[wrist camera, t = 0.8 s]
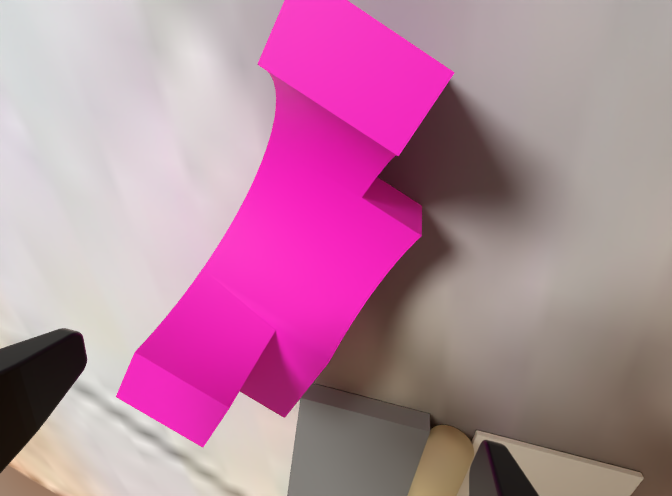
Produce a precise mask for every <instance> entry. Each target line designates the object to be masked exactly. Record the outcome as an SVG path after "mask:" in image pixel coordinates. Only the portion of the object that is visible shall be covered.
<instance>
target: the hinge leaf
mask: <svg viewBox="0 0 672 496" xmlns="http://www.w3.org/2000/svg"><path fill="white" fill-rule="evenodd" d="M473 458H474V448H473V445H472V443H471V441H470V440H469V438H468V437H467V436H466V435H465V434H464V433H463V432H461V431H460V430H458V429H456V428H454V427H452V426H448V425H438V426H435V427H433V428H432V429H431V430H430V414H429V413H425V412H421V411H417V410H413V409H409V408H406V407H402V406H398V405H394V404H390V403H386V402H382V401H378V400H375V399H371V398H367V397H363V396H359V395H355V394H351V393H347V392H344V391H340V390H336V389H332V388H328V387H324V386H320V385H316V384H313V383H312V384H311V386H310V387H309V388H308V389H307V391H306V392H305V393H304V394H303V396H302V397H301V398H300V406H299V413H298V421H297V428H296V435H295V443H294V450H293V457H292V465H291V472H290V479H289V487H288V494H287V496H457V494H458V491H459V489H460V487H461V485H462V482H463V480H464V478H465V476H466V474H467V471H468V469H469V467H470V465H471V462H472V460H473Z"/></svg>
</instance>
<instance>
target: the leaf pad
mask: <svg viewBox="0 0 672 496" xmlns="http://www.w3.org/2000/svg"><path fill="white" fill-rule="evenodd" d="M483 440H490V441H494V442H498V443H501V444H503V445H505V446H506V447H507V448H508V450H509V451H510V453H511V454H512V456H513V457H514V459H515V460H516V462H517V463H518V465H519V466H520V468H521V469H522V471H523V472H524V474H525V475H526V477H527V478H528V480H529V481H530V483H531V484H532V486H533V487H534V489H535V490H536V492H537V493H538V495H539V496H630V495H631V494H632V493H633V492H634V490H635V489H636V488H637V486H638V485H639V484H640V482H641V481H642V480H643V479H644V477H643V475H642V474H641V472H637V471H633V470H629V469H625V468H621V467H617V466H614V465H610V464H606V463H602V462H598V461H594V460H590V459H587V458H583V457H579V456H575V455H571V454H567V453H563V452H559V451H556V450H552V449H548V448H544V447H540V446H536V445H532V444H529V443H525V442H521V441H517V440H513V439H509V438H505V437H502V436H498V435H494V434H490V433H486V432H482V431H478V430H476V432H475V434H474V437H473V439H472V441H471V443H472V445H473V448H474V457H475V455H476V452H477V450H478V448H479V446H480V444H481V442H482V441H483ZM473 459H474V458H473ZM472 461H473V460H472ZM471 464H472V462H471ZM470 467H471V465H470ZM470 467H469V469H468V471H467V474H466V476H465V478H464V480H463V482H462V485H461V487H460V489H459V491H458V494H457V496H469V471H470Z"/></svg>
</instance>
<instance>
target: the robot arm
mask: <svg viewBox="0 0 672 496" xmlns="http://www.w3.org/2000/svg"><path fill="white" fill-rule="evenodd" d="M86 363H87V355H86V350H85V344H84V339H83V336H82V334H81V333H80V332H78V331H74V330H70V329H66V328H62V329H58V330H55V331H52V332H49V333H46V334H43V335H40V336H37V337H34V338H31V339H28V340H25V341H22V342H19V343H16V344H13V345H10V346H7V347H5V348H2V349H0V473H1V472H2V471H3V470H4V469H5V467H6V466H7V465H8V464H9V463H10V462H11V461H12V460H13V459H14V458H15V456H16V455H17V454H18V453H19V452H20V451H21V450H22V449H23V447H24V446H25V445H26V444H27V443H28V442H29V441H30V439H31V438H32V437H33V436H34V435H35V434H36V432H37V431H38V430H39V429H40V427H41V426H42V425H43V424H44V422H45V421H46V420H47V419H48V417H49V416H50V414H51V413H52V412H53V410H54V409H55V408H56V406H57V405H58V404H59V402H60V401H61V400H62V398H63V397H64V396H65V394H66V393H67V392H68V390H69V389H70V388H71V386H72V385H73V384H74V382H75V381H76V380H77V378H78V377H79V376H80V374H81V373H82V372H83V370H84V368H85V366H86ZM469 496H539V495H538V493H537V492H536V490H535V489H534V487H533V486H532V484H531V483H530V481H529V480H528V478H527V477H526V475H525V474H524V472H523V471H522V469H521V468H520V466H519V465H518V463H517V462H516V460H515V459H514V457H513V456H512V454H511V453H510V451H509V450H508V448H507V447H506V446H505V445H503V444H501V443H498V442H494V441H490V440H483V441H482V442H481V444H480V446H479V448H478V450H477V452H476V455H475V457H474V459H473V461H472V464H471V467H470V471H469Z"/></svg>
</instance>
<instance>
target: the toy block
mask: <svg viewBox="0 0 672 496" xmlns="http://www.w3.org/2000/svg"><path fill="white" fill-rule="evenodd" d="M257 65H259V66H261V67H262V68H264V69H265V70H267V71H268V72H269V73H270V75H271V77H272V79H273V81H274V85H275V89H276V111H275V118H274V123H273V128H272V132H271V136H270V139H269V142H268V145H267V149H266V152H265V154H264V157H263V160H262V162H261V165H260V167H259V170H258V172H257V174H256V177H255V179H254V181H253V183H252V185H251V188H250V190H249V192H248V194H247V196H246V198H245V200H244V202H243V203H242V205H241V207H240V209H239V211H238V213H237V215H236V216H235V218H234V220H233V222H232V223H231V225H230V227H229V229H228V230H227V232H226V234H225V235H224V237H223V239H222V240H221V242H220V243H219V245H218V247H217V248H216V250H215V251H214V253H213V254H212V256H211V257H210V259H209V260H208V262H207V263H206V265H205V266H204V268H203V269H202V270H201V272H200V273H199V275H198V276H197V278H196V279H195V280H194V282H193V283H192V284H191V286H190V287H189V288H188V290H187V291H186V293H185V294H184V295H183V296H182V298H181V299H180V300H179V302H178V303H177V304H176V305H175V307H174V308H173V309H172V310H171V312H170V313H169V314H168V315H167V317H166V318H165V319H164V320H163V321H162V322H161V324H160V325H159V326H158V327H157V328H156V329H155V331H154V332H153V333H152V334H151V335H150V336H149V337H148V339H147V340H146V341H145V342H144V343H143V344H142V345H141V346H140V347H139V348H138V349H137V350H136V351H135V353H134V355H133V358H132V360H131V362H130V365H129V367H128V369H127V372H126V374H125V376H124V379H123V381H122V384H121V386H120V388H119V391H118V393H117V395H116V397H117V398H119V399H120V400H122V401H124V402H125V403H127V404H129V405H131V406H132V407H134V408H136V409H137V410H139V411H141V412H143V413H144V414H146V415H148V416H150V417H151V418H153V419H155V420H156V421H158V422H160V423H162V424H163V425H165V426H167V427H168V428H170V429H172V430H174V431H175V432H177V433H179V434H180V435H182V436H184V437H186V438H187V439H189V440H191V441H192V442H194V443H196V444H198V445H199V446H201V447H204V445H205V444H206V442H207V441H208V439H209V438H210V436H211V435H212V433H213V432H214V430H215V429H216V427H217V426H218V424H219V423H220V422H221V420H222V419H223V417H224V416H225V414H226V413H227V411H228V410H229V408H230V406H231V405H232V403H233V401H234V399H235V398H236V396H237V394H238V393H239V391H240V392H242V393H243V394H245V395H247V396H248V397H250V398H252V399H254V400H255V401H257V402H259V403H260V404H262V405H264V406H265V407H267V408H269V409H270V410H272V411H274V412H275V413H277V414H279V415H280V416H282V417H284V418H285V417H286V416H287V414H288V413H289V412H290V411H291V409H292V408H293V407H294V406H295V404H296V403H297V402H298V401H299V399H300V398H301V397H302V396H303V394H304V393H305V392H306V391H307V389H308V388H309V387H310V386H311V384H312V383H313V382H314V381H315V379H316V378H317V377H318V376H319V374H320V373H321V372H322V371H323V369H324V368H325V367H326V366H327V364H328V363H329V362H330V360H331V358H332V356H333V354H334V353H335V351H336V349H337V347H338V346H339V344H340V342H341V340H342V339H343V337H344V335H345V334H346V332H347V331H348V329H349V327H350V326H351V324H352V323H353V321H354V319H355V318H356V316H357V315H358V313H359V312H360V310H361V309H362V307H363V306H364V304H365V303H366V301H367V300H368V299H369V297H370V296H371V294H372V293H373V291H374V290H375V289H376V287H377V286H378V285H379V283H380V282H381V281H382V279H383V278H384V277H385V276H386V274H387V273H388V272H389V271H390V269H391V268H392V267H393V266H394V265H395V263H396V262H397V261H398V260H399V259H400V258H401V257H402V255H403V254H404V253H405V252H406V251H407V250H408V249H409V248H410V247H411V246H412V245H413V244H414V243H415V242H416V241H417V240H418V239H419V238H420V237H421V236H422V206H421V205H420V204H418V203H417V202H415V201H414V200H412V199H411V198H409V197H408V196H406V195H404V194H403V193H401V192H400V191H398V190H397V189H395V188H394V187H392V186H390V185H389V184H387V183H386V182H384V181H383V180H381V179H380V178H378V177H377V176H378V175H379V173H380V172H381V171H382V170H383V168H384V167H385V166H386V165H387V164H388V162H389V161H390V160H391V159H392V158H393V157H395V156H396V155H397V156H399V155H400V153H401V152H402V150H403V149H404V147H405V146H406V144H407V143H408V141H409V140H410V138H411V137H412V135H413V134H414V132H415V131H416V129H417V128H418V126H419V125H420V123H421V122H422V121H423V119H424V118H425V116H426V115H427V113H428V112H429V110H430V109H431V107H432V106H433V104H434V103H435V101H436V100H437V98H438V97H439V95H440V94H441V92H442V91H443V89H444V88H445V86H446V85H447V83H448V82H449V80H450V79H451V77H452V76H453V74H454V72H453V71H451V70H450V69H448V68H447V67H445V66H444V65H443V64H441V63H440V62H438V61H437V60H435V59H434V58H432V57H431V56H429V55H428V54H426V53H425V52H423V51H422V50H420V49H419V48H417V47H416V46H414V45H413V44H411V43H410V42H408V41H407V40H405V39H404V38H402V37H401V36H399V35H398V34H396V33H395V32H393V31H392V30H390V29H389V28H387V27H386V26H384V25H383V24H382V23H380V22H379V21H377V20H376V19H374V18H373V17H371V16H370V15H368V14H367V13H365V12H364V11H362V10H361V9H359V8H358V7H356V6H355V5H353V4H352V3H350V2H349V1H347V0H285V1H284V3H283V6H282V8H281V10H280V13H279V15H278V17H277V20H276V22H275V24H274V27H273V29H272V31H271V34H270V36H269V38H268V41H267V43H266V45H265V48H264V50H263V53H262V55H261V57H260V60H259V62H258V64H257Z"/></svg>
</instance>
